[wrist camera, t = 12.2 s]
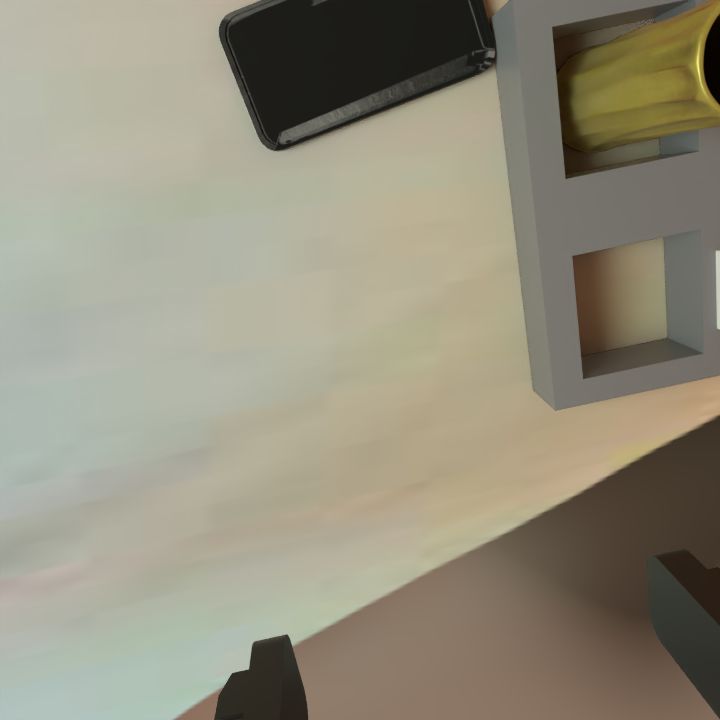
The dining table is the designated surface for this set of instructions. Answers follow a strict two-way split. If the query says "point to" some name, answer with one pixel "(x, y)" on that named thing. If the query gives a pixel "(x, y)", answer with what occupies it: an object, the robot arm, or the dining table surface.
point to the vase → (644, 83)
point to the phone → (347, 59)
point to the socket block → (603, 214)
